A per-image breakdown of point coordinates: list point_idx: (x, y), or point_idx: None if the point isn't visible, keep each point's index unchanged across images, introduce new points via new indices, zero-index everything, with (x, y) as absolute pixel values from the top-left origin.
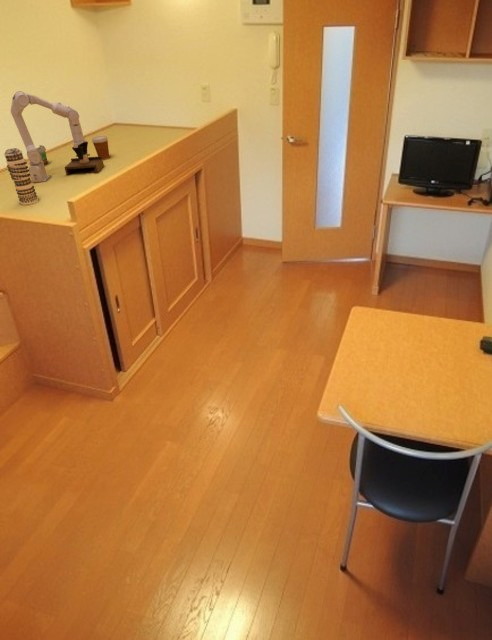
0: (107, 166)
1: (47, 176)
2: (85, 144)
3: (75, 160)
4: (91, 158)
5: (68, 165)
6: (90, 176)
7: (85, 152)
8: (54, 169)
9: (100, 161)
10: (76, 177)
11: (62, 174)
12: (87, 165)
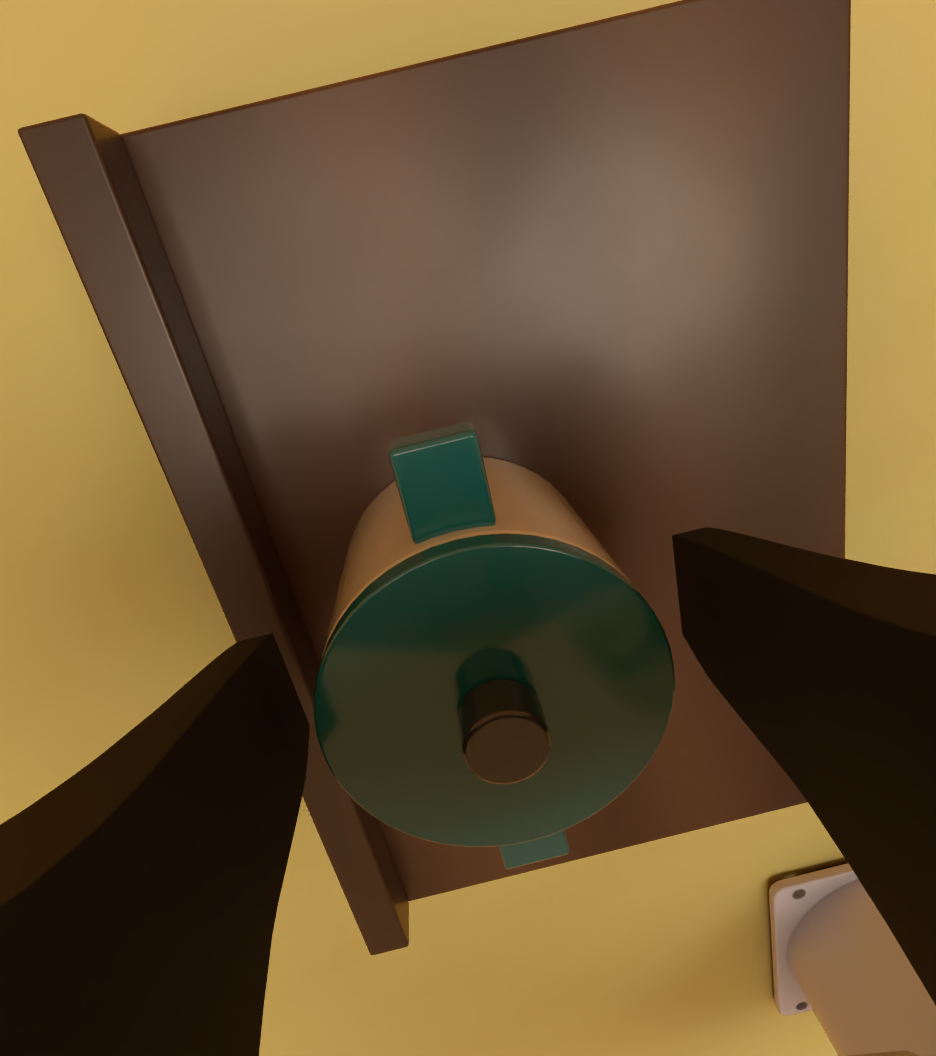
0: (165, 71)
1: (863, 890)
2: (39, 997)
3: (384, 840)
4: (244, 491)
5: (729, 784)
6: (929, 141)
7: (344, 680)
8: (438, 1010)
9: (329, 94)
10: (913, 447)
11: None
12: (834, 282)
